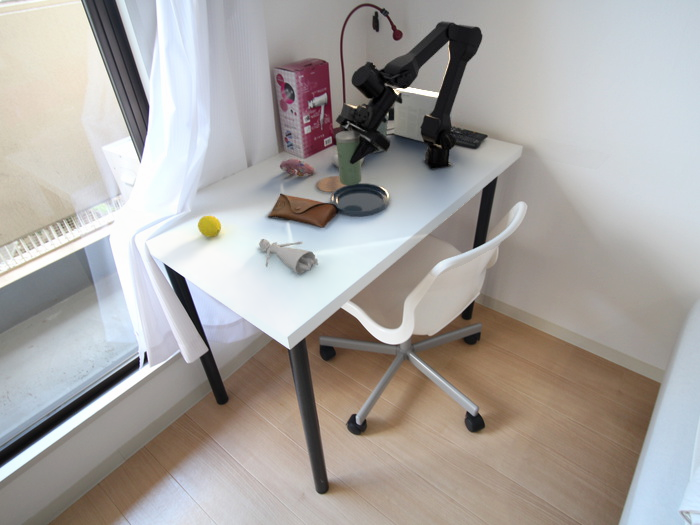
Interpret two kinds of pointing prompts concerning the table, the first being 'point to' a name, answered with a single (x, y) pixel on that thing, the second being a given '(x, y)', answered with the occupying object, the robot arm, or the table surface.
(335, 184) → the coaster
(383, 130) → the grey-green cup
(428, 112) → the skincare box
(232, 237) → the table surface
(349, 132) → the tea tin
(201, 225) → the lemon
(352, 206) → the plate
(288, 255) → the woman figurine
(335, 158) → the donut
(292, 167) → the video game controller
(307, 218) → the sunglasses case
